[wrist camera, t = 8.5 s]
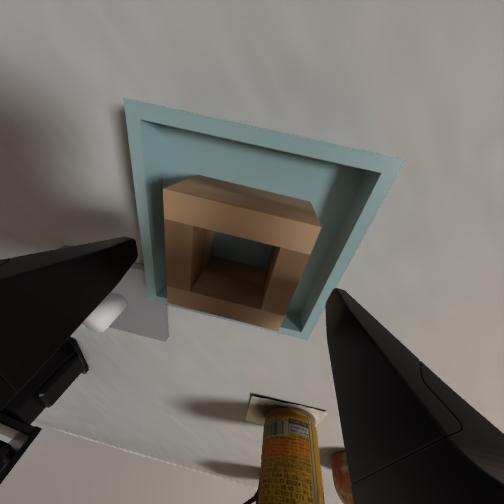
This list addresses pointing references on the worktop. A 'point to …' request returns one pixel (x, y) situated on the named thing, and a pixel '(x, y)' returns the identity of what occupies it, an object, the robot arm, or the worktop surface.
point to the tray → (260, 177)
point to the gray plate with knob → (130, 308)
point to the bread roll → (342, 477)
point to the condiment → (288, 452)
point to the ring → (226, 271)
